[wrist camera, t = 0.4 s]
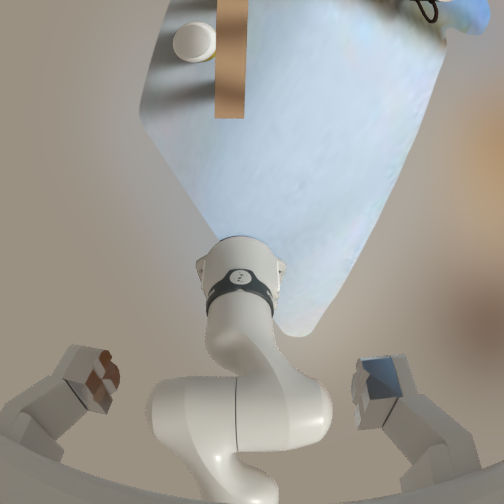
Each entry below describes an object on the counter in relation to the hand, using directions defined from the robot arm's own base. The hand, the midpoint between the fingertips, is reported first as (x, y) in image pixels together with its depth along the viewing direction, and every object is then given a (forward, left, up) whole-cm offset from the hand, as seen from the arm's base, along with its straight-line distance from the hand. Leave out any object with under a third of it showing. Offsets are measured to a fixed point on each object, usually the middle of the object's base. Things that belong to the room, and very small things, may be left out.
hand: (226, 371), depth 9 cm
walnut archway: (+11, +1, -47) cm, 48 cm away
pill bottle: (+11, +7, -47) cm, 49 cm away
